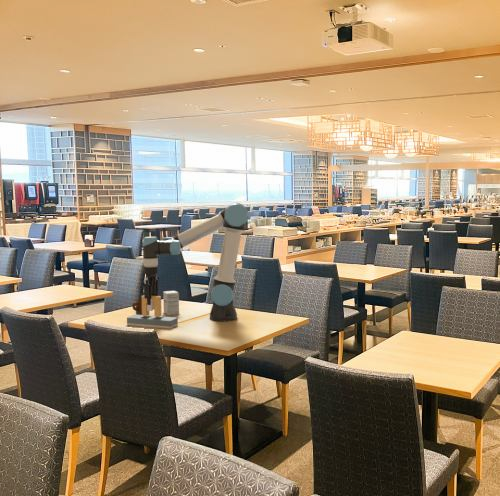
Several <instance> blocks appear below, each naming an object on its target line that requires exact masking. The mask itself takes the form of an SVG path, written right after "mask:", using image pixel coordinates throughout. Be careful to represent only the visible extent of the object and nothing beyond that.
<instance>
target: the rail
mask: <svg viewBox="0 0 500 496" xmlns="http://www.w3.org/2000/svg"><path fill="white" fill-rule="evenodd" d="M178 320H179V319H178V317H174V316H173V317H172V316H163V315H162V316H160V317H155V315H150V314H149V315H147V316H142V315H136V314H133V315H130V316H128V317H126V325H127V326H132V327H133V326H134V327H135V326H136V327H146V326H148V327H149V328H158V327H159V329H161V328H162V329H173V328H175V327H177V326H178V325H179V322H178ZM148 327H147V328H148Z"/></svg>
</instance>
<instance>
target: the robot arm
mask: <svg viewBox="0 0 500 496" xmlns="http://www.w3.org/2000/svg"><path fill="white" fill-rule="evenodd" d="M248 217H249V213H248V209H247V207H246V206H245V205H244V204H242V203H240V202H233V203H231V204H229V205H228V206H227V207H226V208H224V209H222V210H220V211H219V212H218V214H217V215H214V216H212V217H210V218H209V219H207V220H205V221H203V222H200V223H199V224H197V225H195V226H192V227H191V228H189V229H186V230H184V231H183V232H180V233H178V234H177V235H175V236H172V237H170V238H168V239H167V240H159V239H158V237H157V236H144V237H143V238H142V257H143V260H142V262H143V263H142V265H143V274H144V275H145V279H143V280H142V284H143V295H144V298H145V299H147V311H149V312H153V310H154V303H152V299H151V296H159V280H160V276H157V274H158V273H159V266H158V265H159V261H158V259H159V257H158V256H162V255H163V256H165V255H166V256H168V255H169V256H170V255H172V256H175V255H180V254H181V249H182V248H185V247H187V246H189V245H191V244H193V243H196V242H197V241H199V240H201V239H203V238H205V237H207V236H209V235H211V234H213V233H215V232H217V231H219V230H222V229H223V230H224V235H223V241H222V246H221V247H222V248H221V252H220V258H219V263H218V264H219V265H218V270H217V275H216V276H214V277H213V278H212V281H211V284H212V287H211V291H210V299H211V300H212V306H211V308H210V309H211V310H210V313H209V320H211V321H215V322H230V321H234V320H236V319H238V312H237V311H236V307H235V304H234V299H235V297H234V295H235V293H234V292H235V287H236V280H235V278H234V276H235V270H236V265H237V259H238V253H239V248H240V243H241V237H242V234H243V233H244V232H245V230H246V227H247V226H246V225H247V221H248Z"/></svg>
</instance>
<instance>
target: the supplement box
mask: <svg viewBox="0 0 500 496" xmlns="http://www.w3.org/2000/svg"><path fill="white" fill-rule="evenodd" d="M179 296H180V293H179V292H178V291H176V290H166V291H163V295H162V297H163V314H166V315H167V316H171V315H179V314H180V297H179Z"/></svg>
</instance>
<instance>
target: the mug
mask: <svg viewBox="0 0 500 496" xmlns="http://www.w3.org/2000/svg"><path fill="white" fill-rule="evenodd" d="M131 307H132V309H133V311H135V315H142V298H137V299H135V301H133V303H132V306H131Z"/></svg>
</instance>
